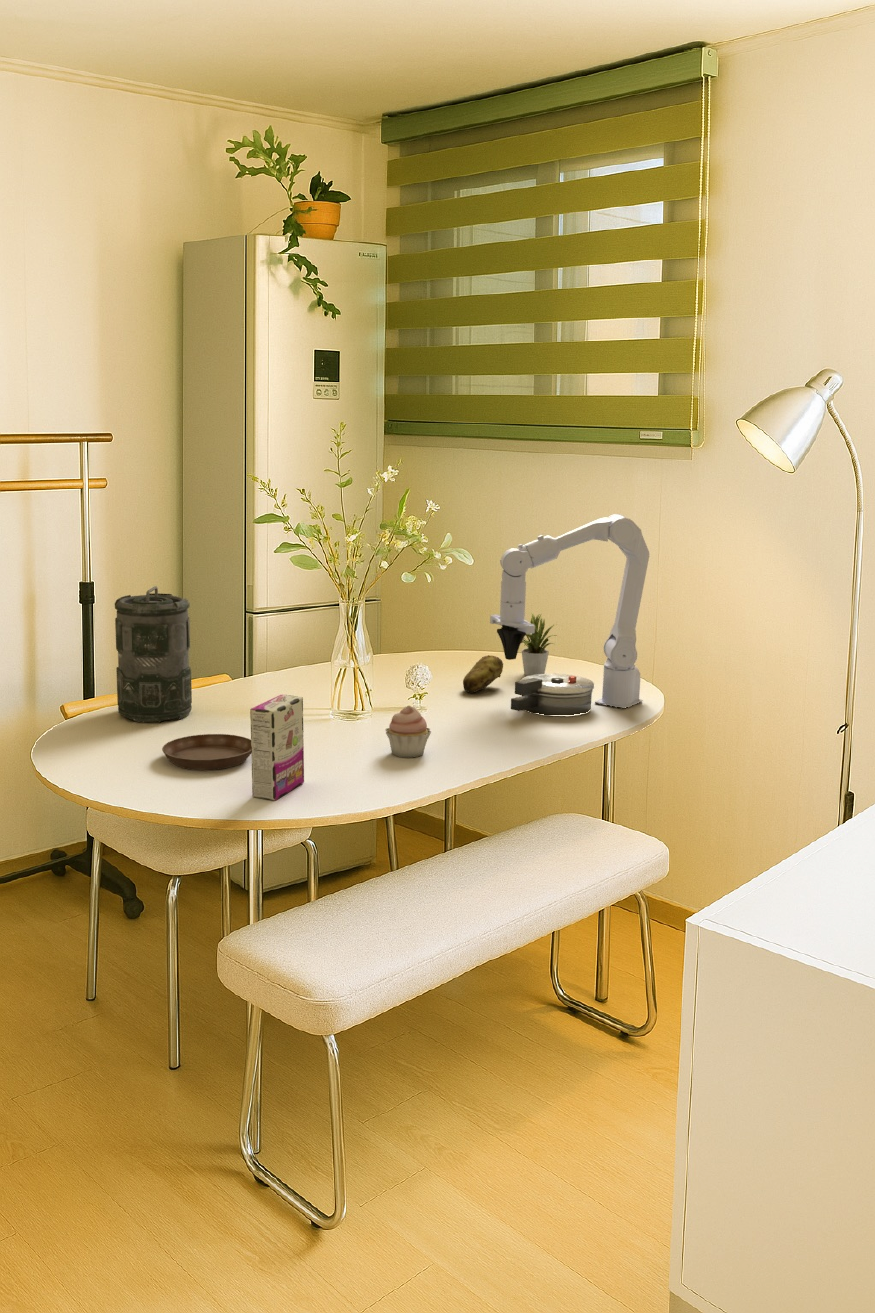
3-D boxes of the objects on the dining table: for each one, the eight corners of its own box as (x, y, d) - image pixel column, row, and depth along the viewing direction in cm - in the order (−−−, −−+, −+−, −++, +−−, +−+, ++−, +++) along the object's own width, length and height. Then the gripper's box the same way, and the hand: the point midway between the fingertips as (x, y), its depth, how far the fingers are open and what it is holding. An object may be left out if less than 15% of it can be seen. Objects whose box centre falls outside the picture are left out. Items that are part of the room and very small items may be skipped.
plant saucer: (144, 759, 231) (143, 744, 230) (218, 742, 244) (218, 727, 243) (199, 781, 219) (199, 765, 219) (274, 761, 232) (274, 746, 232)
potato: (449, 689, 291) (450, 657, 290) (491, 683, 299) (492, 651, 297) (470, 696, 285) (471, 663, 283) (512, 689, 292) (513, 658, 291)
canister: (184, 724, 255) (181, 595, 249) (109, 723, 255) (105, 593, 249) (198, 705, 270) (195, 583, 264) (128, 704, 270) (124, 581, 264)
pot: (552, 695, 288) (553, 675, 287) (605, 709, 276) (607, 688, 275) (488, 710, 272) (488, 689, 271) (541, 725, 261) (542, 703, 260)
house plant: (498, 667, 316) (500, 606, 312) (549, 666, 318) (551, 606, 315) (511, 680, 302) (513, 616, 299) (564, 679, 305) (567, 616, 301)
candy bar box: (280, 779, 220) (280, 693, 217) (304, 783, 219) (305, 696, 215) (249, 797, 210) (248, 707, 207) (274, 801, 209) (274, 711, 205)
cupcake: (380, 759, 234) (381, 709, 232) (388, 745, 243) (389, 698, 241) (427, 762, 233) (428, 712, 231) (434, 748, 242) (435, 700, 240)
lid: (551, 673, 287) (552, 662, 286) (608, 686, 275) (609, 675, 275) (490, 687, 272) (491, 676, 271) (548, 702, 260) (548, 690, 259)
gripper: (480, 597, 279) (478, 654, 282) (518, 607, 267) (515, 666, 270) (504, 595, 283) (502, 651, 286) (543, 605, 271) (540, 663, 274)
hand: (510, 658), depth 278 cm, fingers closed
